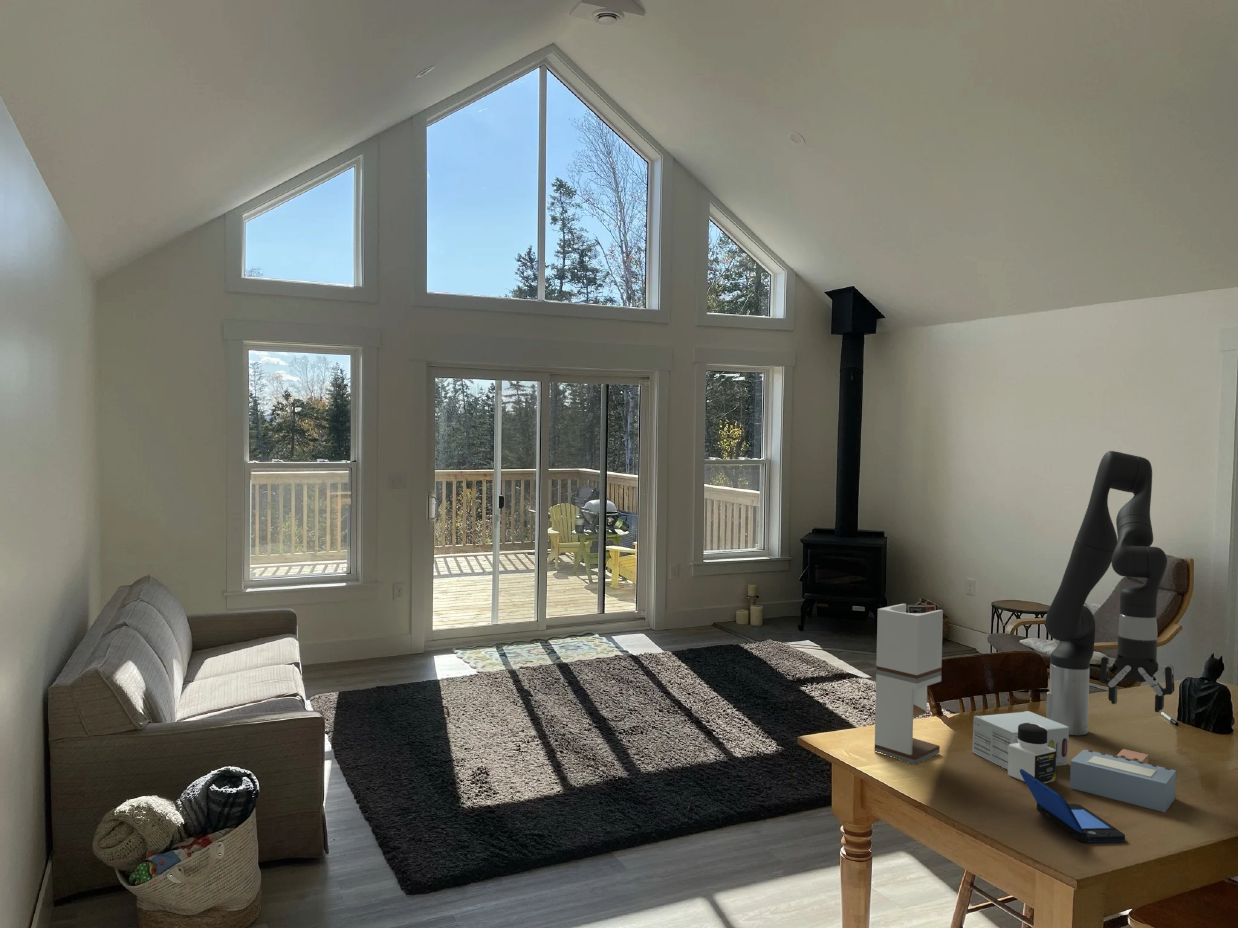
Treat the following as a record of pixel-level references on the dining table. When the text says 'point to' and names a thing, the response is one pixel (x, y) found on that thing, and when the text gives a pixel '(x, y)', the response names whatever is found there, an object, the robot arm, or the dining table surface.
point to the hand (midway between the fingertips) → (1135, 707)
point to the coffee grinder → (905, 679)
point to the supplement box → (1014, 736)
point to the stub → (1133, 756)
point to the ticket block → (1123, 780)
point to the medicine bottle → (1032, 754)
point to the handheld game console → (1070, 814)
